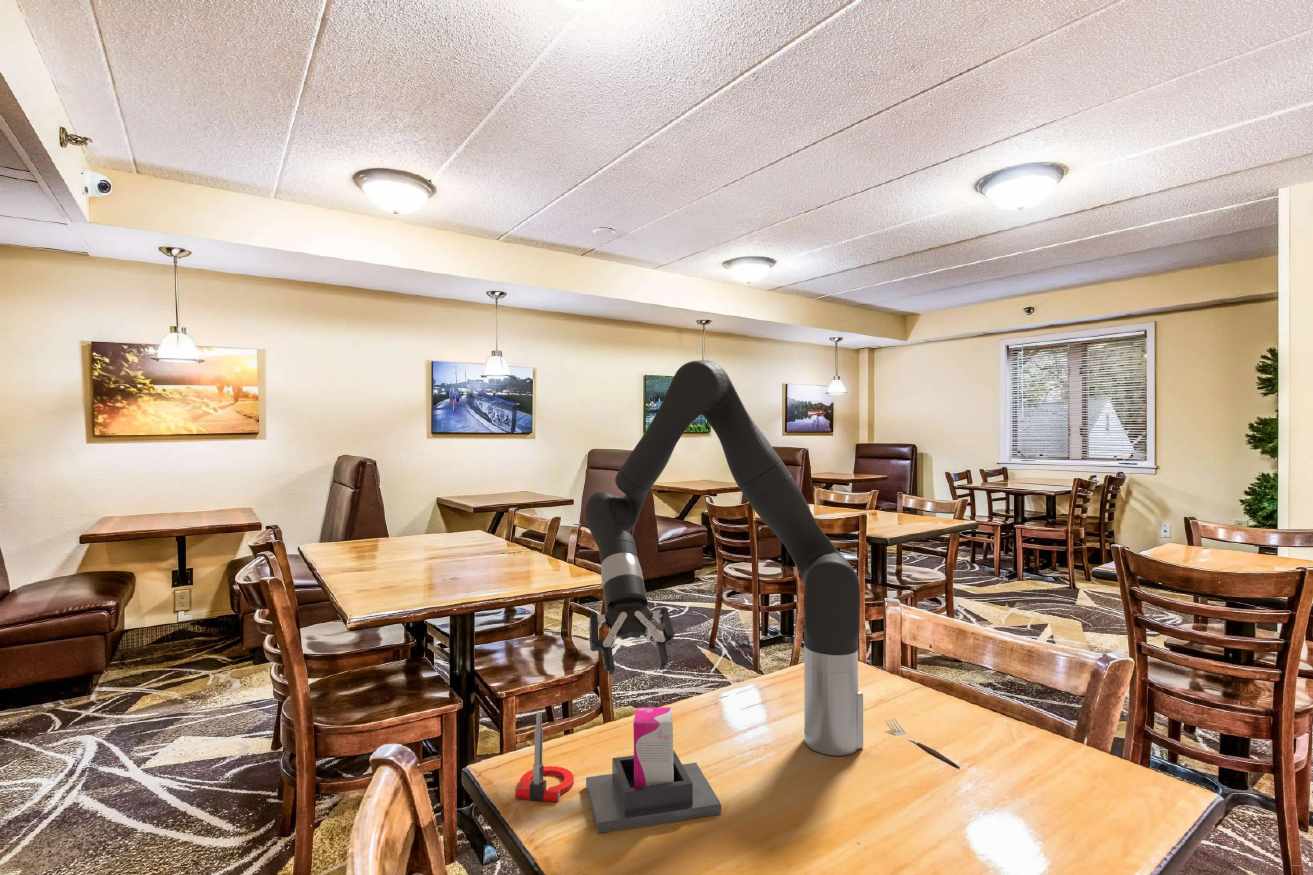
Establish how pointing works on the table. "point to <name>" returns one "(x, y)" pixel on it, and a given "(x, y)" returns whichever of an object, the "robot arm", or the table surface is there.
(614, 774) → the socket plate
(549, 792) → the tow hook
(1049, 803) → the table surface
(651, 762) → the supplement box
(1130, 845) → the table surface
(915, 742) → the fork
